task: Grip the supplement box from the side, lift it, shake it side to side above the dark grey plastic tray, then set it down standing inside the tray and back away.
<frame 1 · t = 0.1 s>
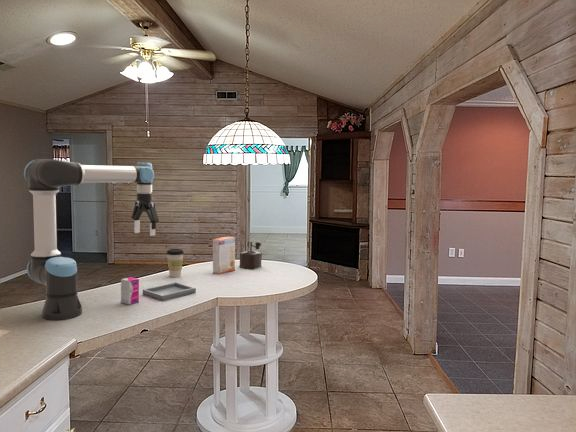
hand: (144, 234, 235), 28 cm above the countertop, tool pointing down, fingers open, 13 cm apart
supplement box: (130, 303, 210), on the countertop
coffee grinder: (253, 268, 291), on the countertop
coffee cup: (175, 276, 264), on the countertop
cracker box: (223, 272, 278), on the countertop
tray: (169, 293, 227), on the countertop
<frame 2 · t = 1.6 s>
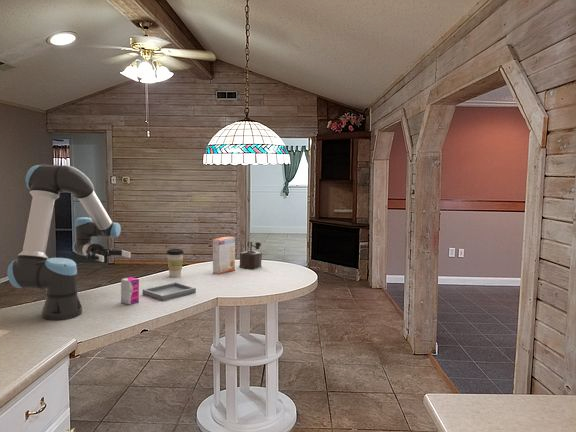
hand: (117, 257, 214), 20 cm above the countertop, tool horizontal, fingers open, 13 cm apart
nothing on the countertop moved.
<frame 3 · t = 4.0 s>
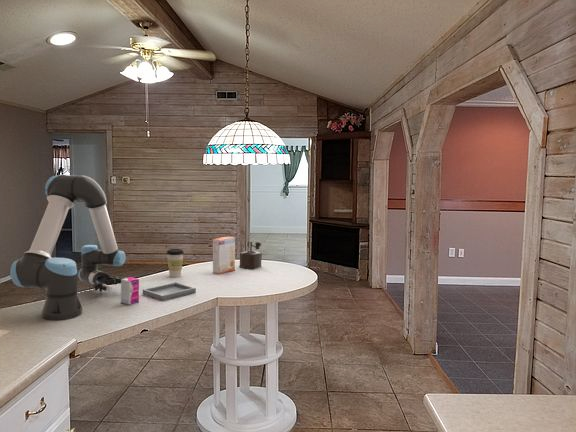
hand: (124, 286, 214), 6 cm above the countertop, tool horizontal, fingers open, 13 cm apart
nothing on the countertop moved.
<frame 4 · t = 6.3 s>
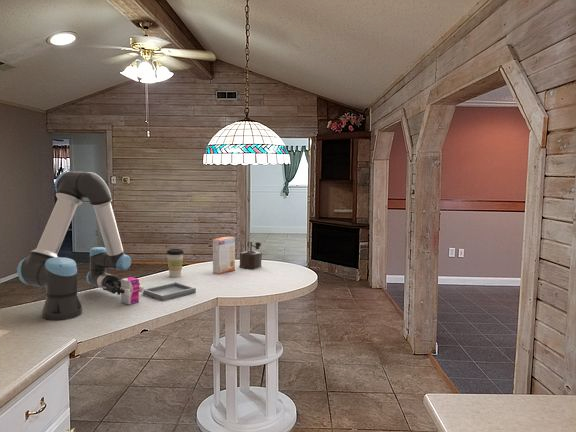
hand: (136, 291, 206), 7 cm above the countertop, tool horizontal, fingers closed on supplement box, 6 cm apart
supplement box: (130, 303, 210), on the countertop, touching gripper
everything else where it was.
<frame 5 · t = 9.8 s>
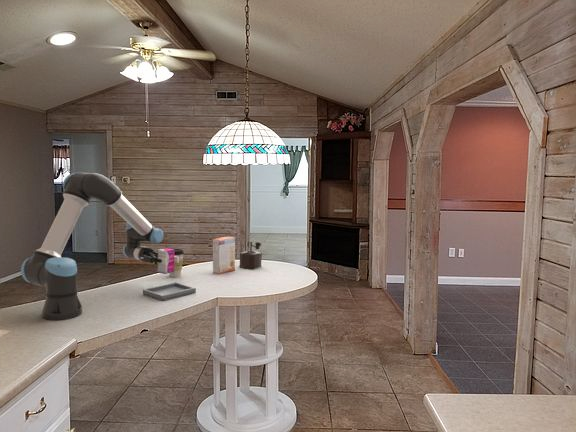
hand: (172, 260, 220), 18 cm above the countertop, tool horizontal, fingers closed on supplement box, 6 cm apart
supplement box: (166, 272, 224), point 11 cm above the countertop, touching gripper
everything else where it was.
when the fingers open (9 cm above the countertop, at t = 13.3 s): supplement box drops 1 cm, resting on tray.
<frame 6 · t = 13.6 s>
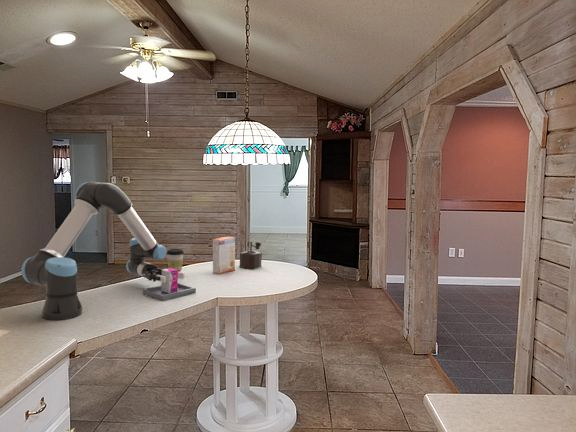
hand: (174, 277, 224), 9 cm above the countertop, tool horizontal, fingers open, 10 cm apart
supplement box: (169, 292, 227), point 1 cm above the countertop, touching tray
everything else where it was.
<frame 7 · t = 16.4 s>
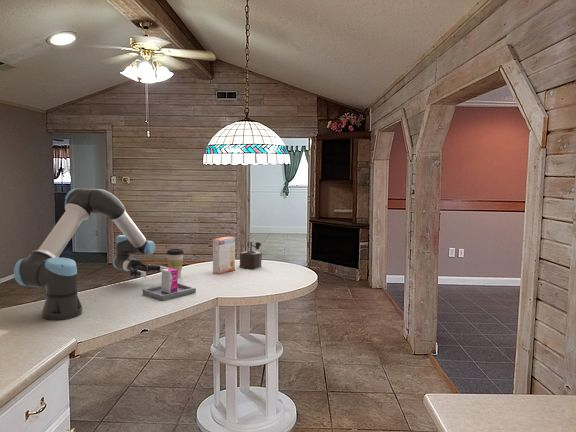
hand: (157, 272, 233), 9 cm above the countertop, tool horizontal, fingers open, 13 cm apart
nothing on the countertop moved.
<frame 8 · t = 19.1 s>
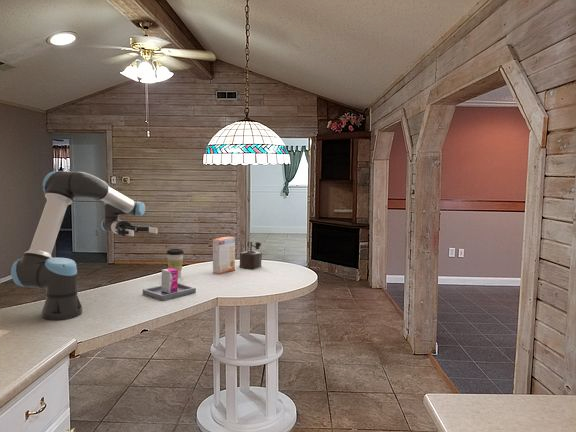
hand: (145, 232, 228), 30 cm above the countertop, tool horizontal, fingers open, 13 cm apart
nothing on the countertop moved.
at the end: supplement box inside the target area on the tray (0.0 cm from its centre), point 0.6 cm above the tray's base; supplement box tilted 0°; the gripper is holding nothing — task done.
